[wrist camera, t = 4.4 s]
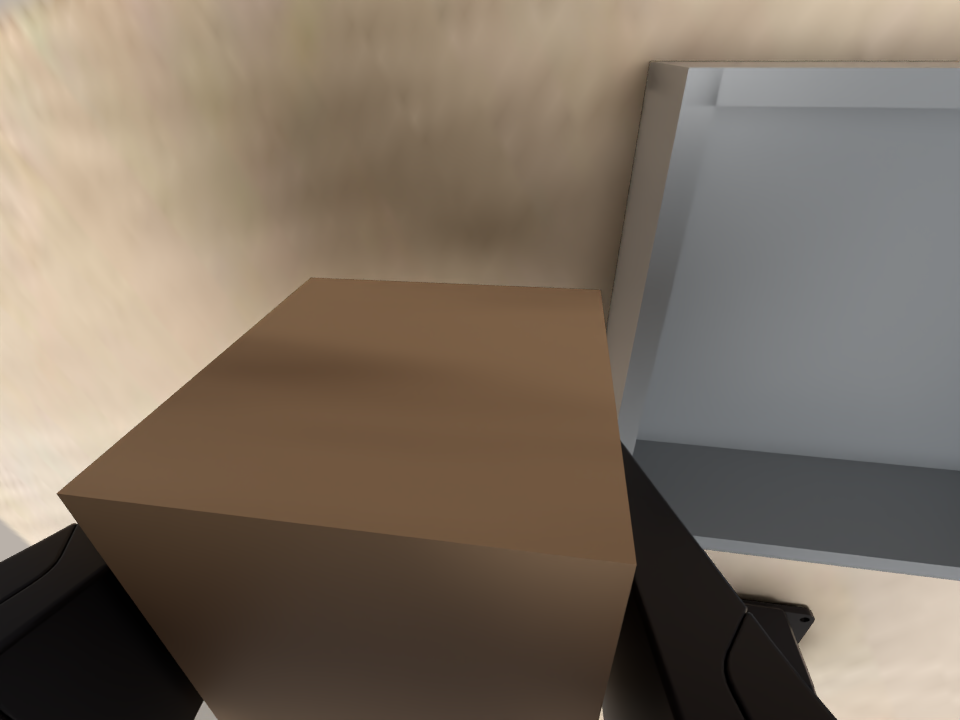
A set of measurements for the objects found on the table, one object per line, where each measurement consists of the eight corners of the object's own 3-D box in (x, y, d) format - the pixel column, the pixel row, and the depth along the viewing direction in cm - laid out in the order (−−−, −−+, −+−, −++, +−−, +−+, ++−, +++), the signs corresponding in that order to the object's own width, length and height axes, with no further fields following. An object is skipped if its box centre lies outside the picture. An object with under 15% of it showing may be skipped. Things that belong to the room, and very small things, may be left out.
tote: (994, 477, 21) (1116, 600, 16) (588, 437, 23) (594, 535, 18) (1343, 61, 12) (1807, 68, 8) (649, 61, 15) (688, 67, 10)
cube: (574, 502, 10) (578, 802, 6) (356, 479, 11) (227, 733, 7) (600, 289, 8) (637, 564, 4) (310, 277, 8) (57, 494, 4)
